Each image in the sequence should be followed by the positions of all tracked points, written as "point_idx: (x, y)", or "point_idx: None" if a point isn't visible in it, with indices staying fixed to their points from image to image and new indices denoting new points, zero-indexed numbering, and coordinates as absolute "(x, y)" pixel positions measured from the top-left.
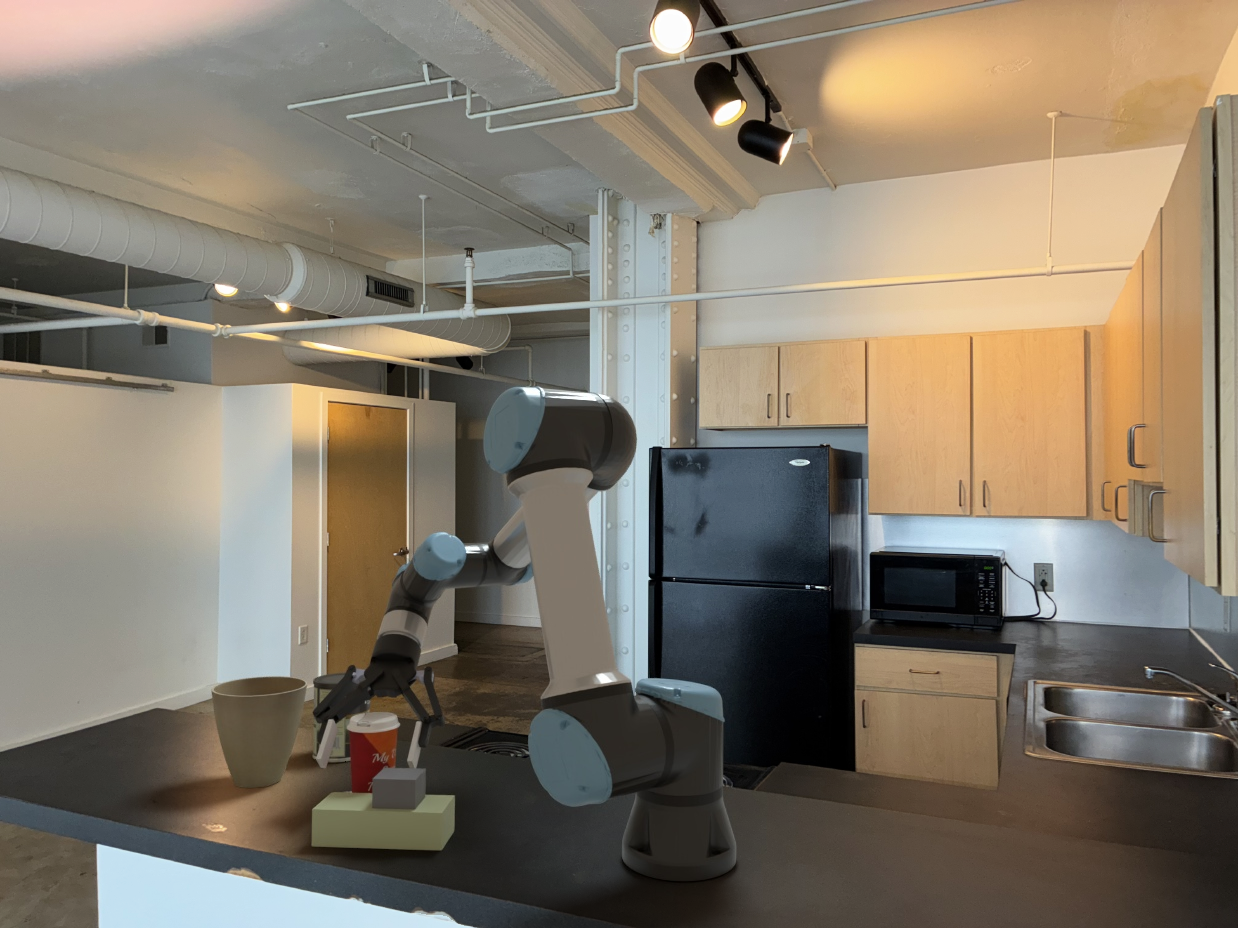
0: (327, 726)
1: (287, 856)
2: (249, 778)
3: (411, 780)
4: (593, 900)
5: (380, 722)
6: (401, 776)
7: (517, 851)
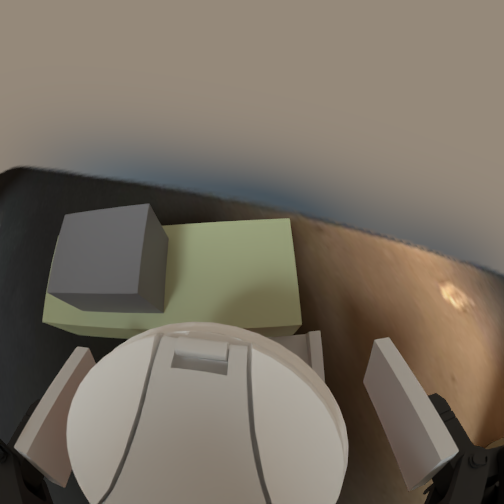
0: (441, 427)
1: (299, 214)
2: (497, 442)
3: (72, 214)
4: (5, 188)
5: (108, 357)
6: (89, 229)
7: (21, 268)
